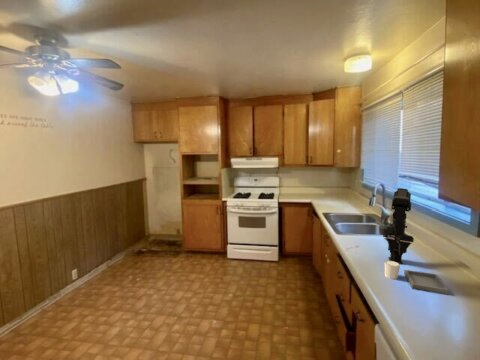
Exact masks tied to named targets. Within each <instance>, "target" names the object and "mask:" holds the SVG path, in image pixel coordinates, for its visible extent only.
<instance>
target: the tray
mask: <svg viewBox="0 0 480 360" xmlns="http://www.w3.org/2000/svg"><path fill="white" fill-rule="evenodd" d="M403 271H404V272H403V274H404V276H405V278H406V280H407V282H408V283H409V285H410V288H411V289H412V290H418V291H422V292H429V293H435V294H440V295H441V294H442V295H449V292H450V289H448V287H447V286H446V284H445V283H444V282H443V281H442V279H441V278H440V277H439V275H438V274H436V273H431V272H425V271H424V272H423V271H416V270H410V269H404V270H403Z"/></svg>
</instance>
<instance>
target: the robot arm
mask: <svg viewBox="0 0 480 360" xmlns="http://www.w3.org/2000/svg"><path fill="white" fill-rule="evenodd" d="M411 194H412V193H411V192H409V190H408V189H407V188H400V187H399V188H397V190H396V191H394V192H393V199H392V201H391V208H390V209H391V210H393V212H392V214H391V215H392V223H389V225H387V226H385V227H379V228H378V230H379V235H382V237H383V238H384V240H385V241H386V242H387V245H388V246H387V251H389V254H390V255H389V256H388V258H387V259H388V261H394V262H397V263H399V264H400V265H403V264H404V262H403V260H402V259H403V255H404V254H406V253H407V251H408V248H409V247H410V246H411V245H412V243H414V241H415V237H413V235H407V234H406V232H405V231H406V229H407V228H408V225H407V224H406V222H407V216H408V215H407V212H410V211H412V202H411V197H412V195H411Z"/></svg>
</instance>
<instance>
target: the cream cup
mask: <svg viewBox="0 0 480 360" xmlns="http://www.w3.org/2000/svg"><path fill="white" fill-rule="evenodd" d="M400 267H401V264H400V263H397V262H394V261H389V260H385V261H384V276H385V278H387V279H390V280H397V279H398V277H399V272H400Z"/></svg>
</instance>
